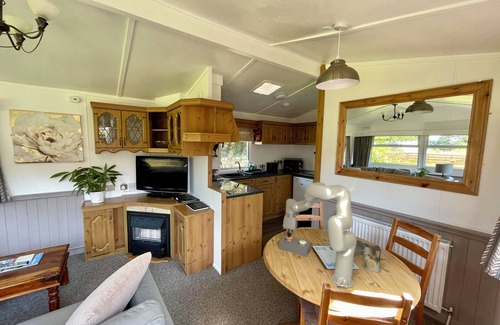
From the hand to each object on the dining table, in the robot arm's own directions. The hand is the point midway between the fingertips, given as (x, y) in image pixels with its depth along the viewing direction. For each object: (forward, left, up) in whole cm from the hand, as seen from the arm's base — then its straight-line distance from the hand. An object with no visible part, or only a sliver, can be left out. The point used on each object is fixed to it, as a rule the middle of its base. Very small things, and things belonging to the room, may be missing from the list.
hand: (289, 236), depth 168 cm
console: (0, -6, -8) cm, 10 cm away
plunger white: (0, -11, -7) cm, 13 cm away
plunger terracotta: (0, 0, -6) cm, 6 cm away
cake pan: (+26, -43, -9) cm, 51 cm away
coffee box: (+3, -58, -9) cm, 58 cm away
